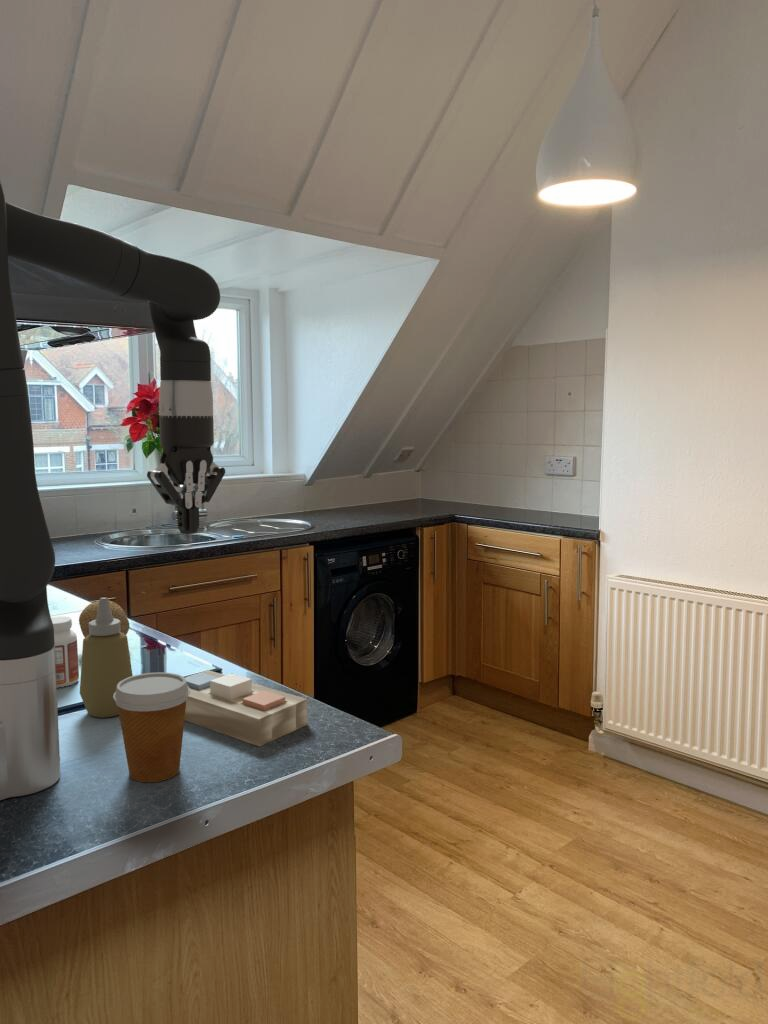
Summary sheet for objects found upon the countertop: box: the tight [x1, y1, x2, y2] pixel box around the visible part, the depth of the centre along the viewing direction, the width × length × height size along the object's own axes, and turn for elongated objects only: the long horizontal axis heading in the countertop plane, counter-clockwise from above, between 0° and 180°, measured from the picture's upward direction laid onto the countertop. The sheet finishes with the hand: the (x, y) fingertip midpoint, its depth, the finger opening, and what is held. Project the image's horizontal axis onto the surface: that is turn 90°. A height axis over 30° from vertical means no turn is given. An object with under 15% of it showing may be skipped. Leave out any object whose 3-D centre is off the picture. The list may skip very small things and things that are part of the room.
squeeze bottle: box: [79, 597, 134, 718], centre depth 127 cm, size 8×8×18 cm
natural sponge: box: [78, 599, 130, 638], centre depth 159 cm, size 9×9×10 cm
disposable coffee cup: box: [113, 671, 190, 783], centre depth 107 cm, size 10×10×12 cm
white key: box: [210, 673, 253, 701], centre depth 126 cm, size 4×4×3 cm
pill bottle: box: [51, 616, 80, 689], centre depth 141 cm, size 6×6×11 cm
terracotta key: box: [243, 691, 285, 711], centre depth 122 cm, size 4×4×3 cm
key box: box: [184, 669, 308, 747], centre depth 126 cm, size 10×22×4 cm, turn 53°
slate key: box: [184, 671, 219, 691], centre depth 130 cm, size 4×4×3 cm
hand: (188, 533), depth 120 cm, fingers closed
